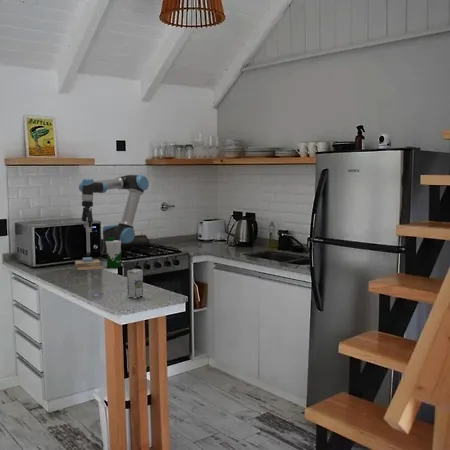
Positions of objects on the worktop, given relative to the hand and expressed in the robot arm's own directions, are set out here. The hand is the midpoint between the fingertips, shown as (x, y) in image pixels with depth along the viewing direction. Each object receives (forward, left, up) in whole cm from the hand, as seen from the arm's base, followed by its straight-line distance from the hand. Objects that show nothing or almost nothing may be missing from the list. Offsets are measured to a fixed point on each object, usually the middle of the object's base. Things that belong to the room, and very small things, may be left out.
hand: (86, 231), depth 381 cm
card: (+8, -1, -20) cm, 21 cm away
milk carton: (+22, +15, -23) cm, 35 cm away
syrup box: (+111, +12, -23) cm, 114 cm away
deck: (+9, -1, -23) cm, 24 cm away
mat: (+20, -1, -23) cm, 30 cm away
